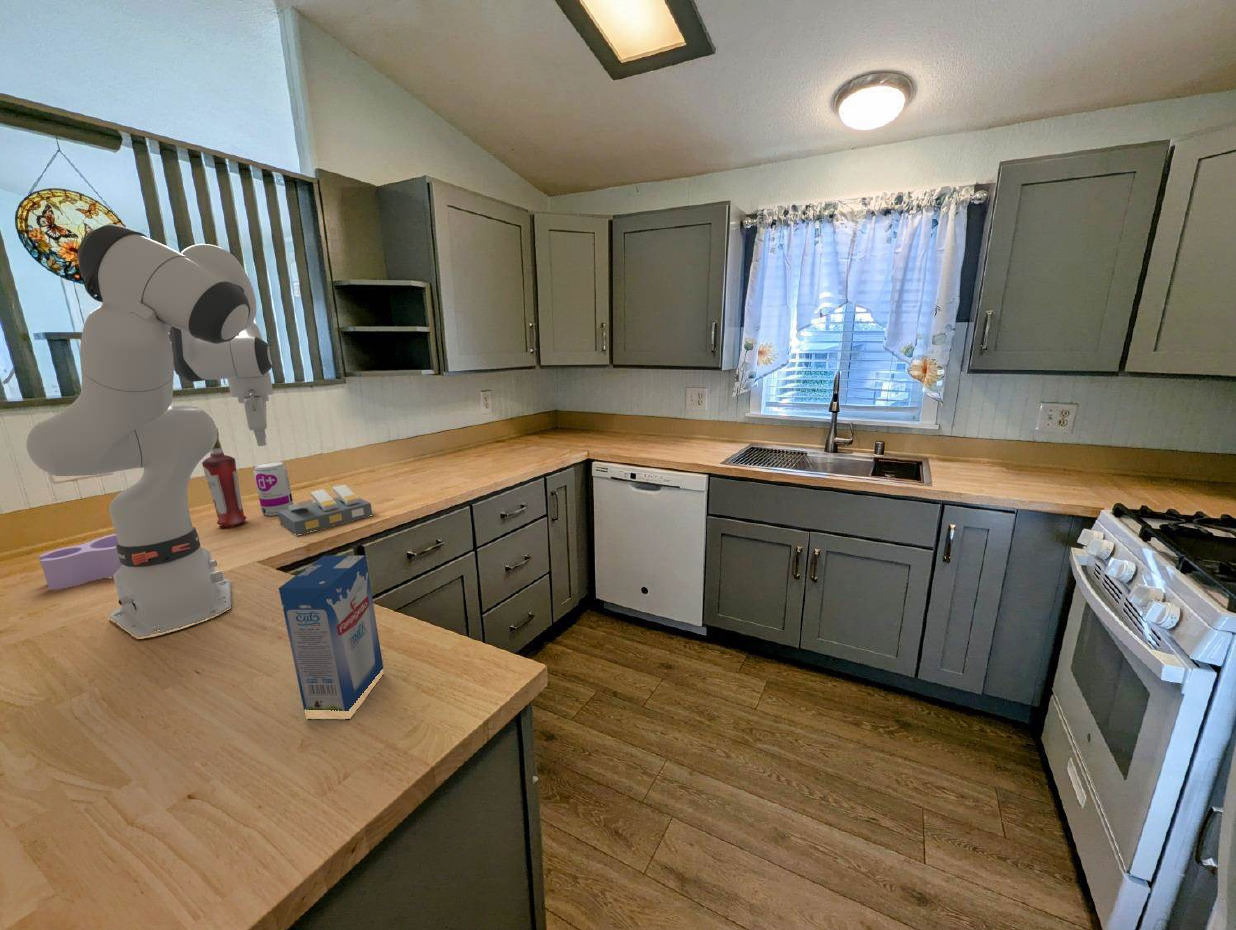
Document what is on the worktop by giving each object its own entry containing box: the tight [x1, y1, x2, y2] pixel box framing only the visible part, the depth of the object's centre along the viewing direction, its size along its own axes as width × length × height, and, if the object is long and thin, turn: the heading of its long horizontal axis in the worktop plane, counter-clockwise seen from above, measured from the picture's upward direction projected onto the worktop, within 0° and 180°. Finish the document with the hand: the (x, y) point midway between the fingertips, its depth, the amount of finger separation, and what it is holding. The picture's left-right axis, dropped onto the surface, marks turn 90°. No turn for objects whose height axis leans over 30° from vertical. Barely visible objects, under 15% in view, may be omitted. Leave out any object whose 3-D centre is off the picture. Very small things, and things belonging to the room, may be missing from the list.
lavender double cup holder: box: [38, 533, 122, 591], centre depth 118 cm, size 20×12×7 cm, turn 141°
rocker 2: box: [310, 488, 338, 511], centre depth 147 cm, size 10×4×1 cm, turn 48°
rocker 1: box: [289, 499, 314, 510], centre depth 142 cm, size 10×4×1 cm, turn 47°
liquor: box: [201, 427, 248, 528], centre depth 143 cm, size 7×7×28 cm
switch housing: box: [278, 496, 373, 536], centre depth 148 cm, size 14×20×5 cm
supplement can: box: [253, 461, 294, 517], centre depth 154 cm, size 8×8×15 cm
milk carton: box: [278, 554, 384, 711], centre depth 72 cm, size 10×6×20 cm, turn 178°
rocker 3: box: [332, 484, 360, 505], centre depth 151 cm, size 10×4×1 cm, turn 49°
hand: (262, 442), depth 131 cm, fingers open, 8 cm apart
